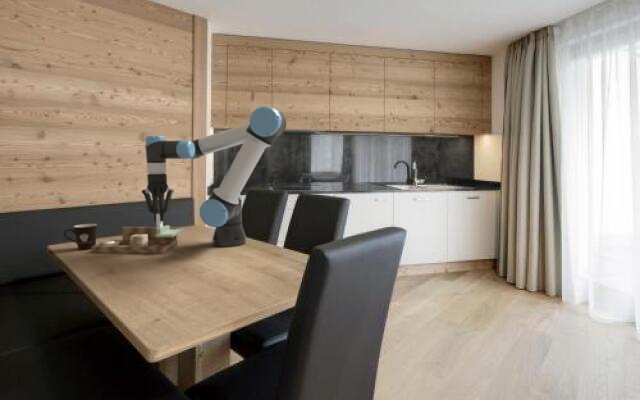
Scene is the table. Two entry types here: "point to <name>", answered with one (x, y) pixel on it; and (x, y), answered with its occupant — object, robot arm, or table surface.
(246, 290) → the table surface
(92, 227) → the coffee mug
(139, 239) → the maple block
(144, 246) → the puzzle board
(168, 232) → the lid
